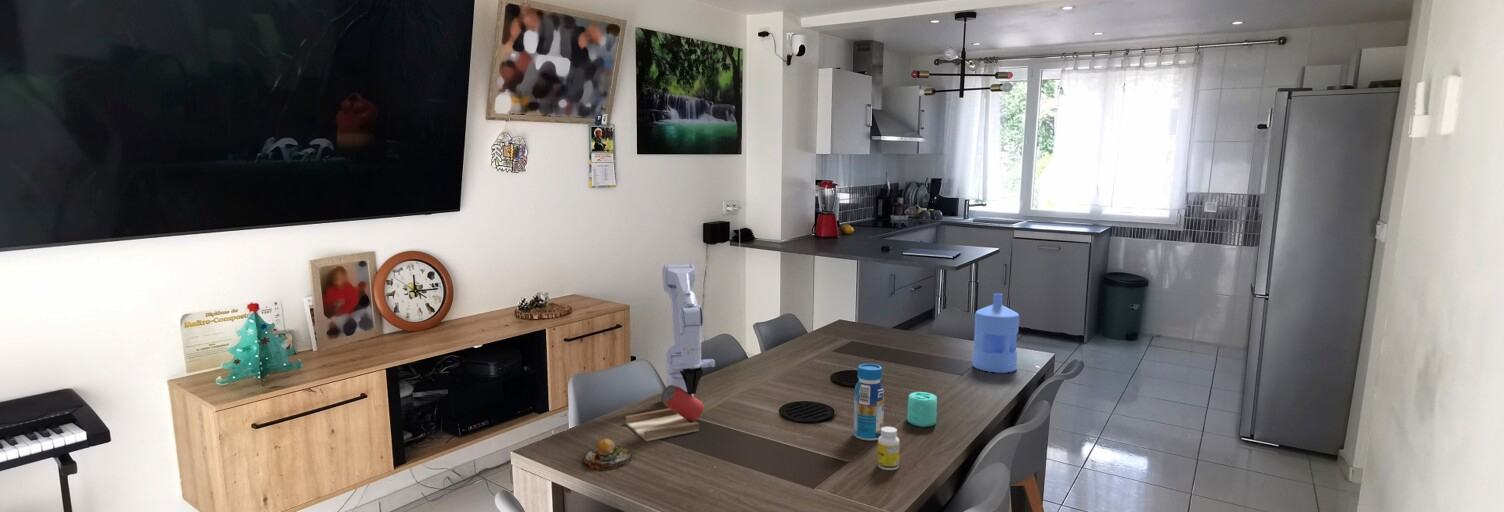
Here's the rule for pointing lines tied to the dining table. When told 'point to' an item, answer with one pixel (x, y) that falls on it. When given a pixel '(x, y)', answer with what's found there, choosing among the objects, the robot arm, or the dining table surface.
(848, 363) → the dining table surface
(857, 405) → the beverage bottle
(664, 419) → the birch tray
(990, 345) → the water jug
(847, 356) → the dining table surface
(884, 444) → the supplement bottle
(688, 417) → the beer can
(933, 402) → the turquoise short cylinder
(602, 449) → the food on plate
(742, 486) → the dining table surface
